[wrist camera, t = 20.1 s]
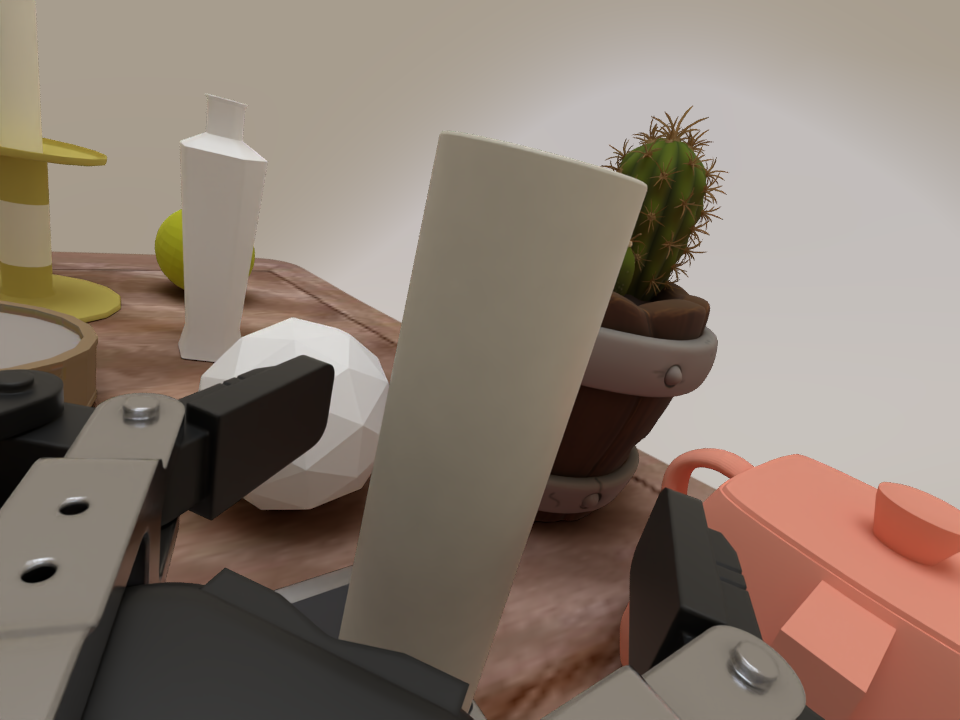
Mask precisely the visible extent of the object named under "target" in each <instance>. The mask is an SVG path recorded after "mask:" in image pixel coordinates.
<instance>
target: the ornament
mask: <svg viewBox="0 0 960 720" xmlns="http://www.w3.org/2000/svg"><path fill="white" fill-rule="evenodd" d="M155 253H156V258H157V262H158V264H159V266H160V268H161V270H162V271H163V273H164V274H165V275H166V276H167V277H168V279H169V280H170V281H172V282H173V283H174V284H175V285H177V286H178V287H180V288H182V289H184V263H183V230H182V209H181V210H179V211H177V212H175V213H173V214H172V215H171V216H169V217H168V218H167V219H166V220H165V221H164V222H163V224H162V225H161V226H160V228H159V230H158V233H157V236H156V240H155ZM254 260H255V251H254V246H253V252H252V258H251V264H250V270H249V275H250V273H251V271H252V268H253V266H254ZM248 277H249V276H248Z"/></svg>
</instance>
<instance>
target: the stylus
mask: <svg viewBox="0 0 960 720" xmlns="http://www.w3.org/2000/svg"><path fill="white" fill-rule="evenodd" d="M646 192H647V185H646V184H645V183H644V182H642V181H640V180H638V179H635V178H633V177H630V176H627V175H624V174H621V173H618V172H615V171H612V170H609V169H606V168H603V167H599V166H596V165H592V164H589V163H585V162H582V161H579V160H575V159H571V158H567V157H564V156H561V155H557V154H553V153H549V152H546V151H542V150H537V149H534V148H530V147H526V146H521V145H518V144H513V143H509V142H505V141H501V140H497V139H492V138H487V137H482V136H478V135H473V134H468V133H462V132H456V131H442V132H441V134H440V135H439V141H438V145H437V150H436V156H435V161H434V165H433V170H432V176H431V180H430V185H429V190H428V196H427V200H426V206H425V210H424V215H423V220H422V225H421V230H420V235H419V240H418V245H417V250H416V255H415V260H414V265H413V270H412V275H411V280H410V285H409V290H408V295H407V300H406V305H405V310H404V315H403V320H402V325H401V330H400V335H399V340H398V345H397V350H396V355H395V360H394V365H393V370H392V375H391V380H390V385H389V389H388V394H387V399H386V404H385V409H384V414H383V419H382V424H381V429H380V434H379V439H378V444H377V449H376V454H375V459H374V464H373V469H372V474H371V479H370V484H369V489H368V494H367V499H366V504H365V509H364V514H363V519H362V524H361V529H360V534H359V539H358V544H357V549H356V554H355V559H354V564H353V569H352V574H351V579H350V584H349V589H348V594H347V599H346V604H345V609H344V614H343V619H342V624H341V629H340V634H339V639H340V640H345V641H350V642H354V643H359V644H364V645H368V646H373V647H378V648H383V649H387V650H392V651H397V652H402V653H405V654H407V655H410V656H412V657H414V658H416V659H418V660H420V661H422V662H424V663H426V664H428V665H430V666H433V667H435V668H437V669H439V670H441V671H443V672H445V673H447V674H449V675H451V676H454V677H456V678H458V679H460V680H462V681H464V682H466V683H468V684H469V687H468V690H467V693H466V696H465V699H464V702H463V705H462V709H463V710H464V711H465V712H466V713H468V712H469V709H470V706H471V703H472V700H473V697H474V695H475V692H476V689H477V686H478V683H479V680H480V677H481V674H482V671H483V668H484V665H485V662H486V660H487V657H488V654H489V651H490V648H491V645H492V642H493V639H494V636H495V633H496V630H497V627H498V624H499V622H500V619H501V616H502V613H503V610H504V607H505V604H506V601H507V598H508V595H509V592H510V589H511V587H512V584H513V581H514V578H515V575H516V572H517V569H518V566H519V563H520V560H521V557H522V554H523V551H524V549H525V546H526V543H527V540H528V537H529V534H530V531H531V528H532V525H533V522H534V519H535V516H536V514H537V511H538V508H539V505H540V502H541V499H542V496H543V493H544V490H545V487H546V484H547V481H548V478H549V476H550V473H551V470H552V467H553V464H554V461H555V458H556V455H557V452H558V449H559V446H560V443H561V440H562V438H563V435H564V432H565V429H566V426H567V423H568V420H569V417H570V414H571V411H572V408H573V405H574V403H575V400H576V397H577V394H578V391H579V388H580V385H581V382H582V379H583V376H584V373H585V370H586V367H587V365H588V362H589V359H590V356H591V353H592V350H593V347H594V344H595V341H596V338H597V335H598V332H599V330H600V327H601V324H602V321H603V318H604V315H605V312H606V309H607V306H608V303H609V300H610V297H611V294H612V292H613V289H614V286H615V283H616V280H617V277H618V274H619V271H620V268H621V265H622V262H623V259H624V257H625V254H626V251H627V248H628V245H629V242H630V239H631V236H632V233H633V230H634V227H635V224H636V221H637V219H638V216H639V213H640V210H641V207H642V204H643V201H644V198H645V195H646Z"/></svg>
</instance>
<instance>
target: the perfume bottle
mask: <svg viewBox="0 0 960 720" xmlns="http://www.w3.org/2000/svg"><path fill="white" fill-rule="evenodd" d="M205 95H206V97H207V99H208V101H207V120H206V132H205V133H202V134H199V135H196V136H193V137H190V138H187V139H184V140H182V141H180V164H181V197H182V230H183V263H184V295H185V325H184V328H183V331H182V334H181V337H180V340H179V343H178V346H179V350H180V354H181V357H182V358H185V359H193V360H202V361H211V362H216V361H217V360H218V359H219V358H220V357H221V356H222V355H223V354H224V353H225V352H226V351H228V350H229V349H230V348H231V347H232V346H233V345H234V344H235V343H236V342H237V341H238V340H239V339H240V338H241V334H240V324H241V318H242V312H243V306H244V300H245V294H246V288H247V282H248V276H249V270H250V264H251V258H252V252H253V246H254V240H255V235H256V229H257V223H258V217H259V210H260V205H261V198H262V193H263V187H264V181H265V175H266V169H267V163H268V161H266V160H265V159H264V158H263V157H262V156H260V155H259V154H258V153H257V152H256V151H254V150H253V149H252V148H251V147H249V146H248V145H247V144H246V143H245V142H243V131H244V117H245V108H247V107H248V105H247V104H243V103H240V102H236V101H233V100H229V99H225V98H222V97H218V96H214V95H210V94H205Z"/></svg>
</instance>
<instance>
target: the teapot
mask: <svg viewBox="0 0 960 720" xmlns="http://www.w3.org/2000/svg"><path fill="white" fill-rule="evenodd" d="M698 467H705V468H710V469H713V470H716V471H718V472H720V473H722V474H723V475H725V476H727V477H728V478H730V479H729V480H727V481H726V482H725V483H723V484H722V485H721V486H720V487H719V488H718V489H717V490H716V491H715V492H713V493H712V494H711V495H710V496H709V497H708V498H707V499H706V500H705V501H704V502H703V508H704V512H705V516H706V521H707V525H708V528H710V529H713V530H715V531H718V532H721V533H722V534H723V536H724V537H725V538H726V539H727V541H728V542H729V543H730V545H731V546H732V547H733V548H734V550H735V551H736V552H737V555H738V559H739V562H740V565H741V569H742V575H743V576H744V579H745V582H746V586H747V588H746V591H748V592H749V596H750V599H751V602H752V606H753V609H754V612H755V616H756V619H757V622H758V626H759V629H760V632H761V636H762V639H763V641H764V642H765V643H767V644H768V645H769V646H770V647H772V648H773V649H774V650H775V651H776V652H778V653H779V654H780V655H781V656H782V657H783V658H784V659H785V660H786V661H787V662H788V664H789V665H790V666H791V667H792V669H793V670H794V671H795V673H796V674H797V676H798V677H799V679H800V681H801V683H802V685H803V688H804V691H805V695H806V704H805V705H807V706H808V707H809V708H810V709H812V710H813V711H814V712H815V713H817V714H818V715H820V716H821V717H822V718H824V719H825V720H960V510H958V509H957V508H955V507H953V506H952V505H950V504H948V503H946V502H945V501H943V500H941V499H939V498H936V497H934V496H933V495H930V494H928V493H926V492H923V491H921V490H918V489H916V488H913V487H910V486H906V485H902V484H897V483H891V482H882V483H880V484H879V486H878V489H876V488H874V487H872V486H870V485H868V484H866V483H864V482H862V481H860V480H857V479H855V478H853V477H851V476H849V475H847V474H845V473H843V472H841V471H839V470H836V469H834V468H832V467H830V466H827V465H825V464H823V463H821V462H818V461H816V460H814V459H811V458H809V457H806V456H803V455H799V454H793V455H788V456H784V457H780V458H777V459H774V460H771V461H768V462H766V463H764V464H761V465H759V466H756V467H754V466H753V465H751V464H750V463H749V462H747V461H746V460H745V459H743V458H741V457H739V456H738V455H736V454H734V453H731V452H728V451H725V450H720V449H711V448H709V449H708V448H707V449H706V448H703V449H697V450H692V451H689V452H686V453H684V454H682V455H680V456H678V457H677V458H676V459H674V460H673V461H672V462H671V464H670V465H669V466H668V468H667V470H666V472H665V474H664V478H663V481H662V487H661V491H662V490H663V489H664V488H665V487H666V488H669V489H672V490H674V491H677V492H680V493H683V494H685V495H687V488H688V482H689V479H690V476H691V473H692V471H693V470H694V469H695V468H698ZM629 602H630V601H629ZM620 658H621V663H622V666H625V665H629V603H628V605H627V607H626V609H625V611H624V613H623V615H622V619H621V624H620Z"/></svg>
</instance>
